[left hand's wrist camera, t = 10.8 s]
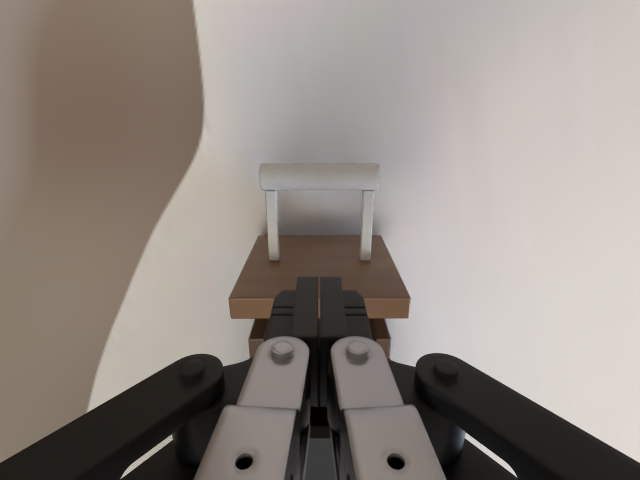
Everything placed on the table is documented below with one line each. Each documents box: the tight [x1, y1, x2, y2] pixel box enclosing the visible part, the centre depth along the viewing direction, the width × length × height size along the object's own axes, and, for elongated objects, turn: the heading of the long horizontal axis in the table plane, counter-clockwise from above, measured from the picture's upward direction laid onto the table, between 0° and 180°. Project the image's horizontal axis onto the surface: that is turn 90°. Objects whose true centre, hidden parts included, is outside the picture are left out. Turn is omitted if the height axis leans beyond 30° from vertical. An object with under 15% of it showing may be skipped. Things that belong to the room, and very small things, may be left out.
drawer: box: [229, 164, 411, 426], centre depth 24 cm, size 24×9×9 cm, turn 0°
